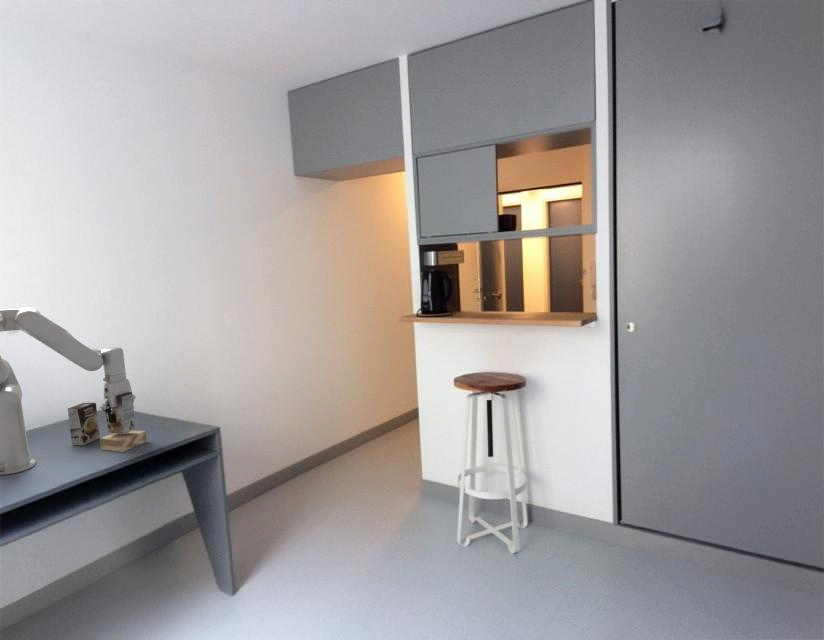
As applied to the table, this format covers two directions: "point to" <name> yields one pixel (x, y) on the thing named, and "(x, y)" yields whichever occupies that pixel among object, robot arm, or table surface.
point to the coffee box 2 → (123, 415)
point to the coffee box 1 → (83, 423)
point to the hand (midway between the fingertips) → (120, 419)
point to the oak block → (123, 440)
